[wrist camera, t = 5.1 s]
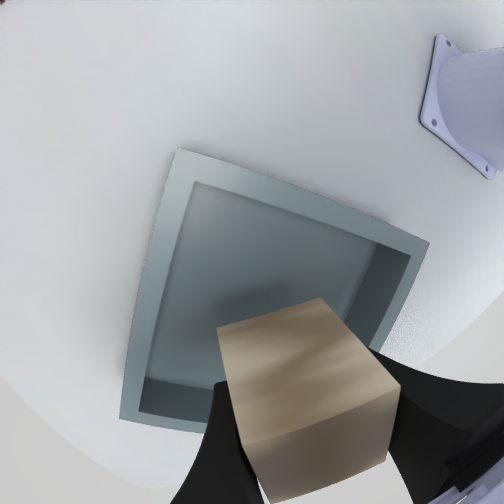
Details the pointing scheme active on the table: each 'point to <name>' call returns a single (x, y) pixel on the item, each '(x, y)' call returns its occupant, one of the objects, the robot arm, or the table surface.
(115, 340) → the table surface
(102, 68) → the table surface
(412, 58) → the table surface
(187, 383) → the bin
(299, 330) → the block
